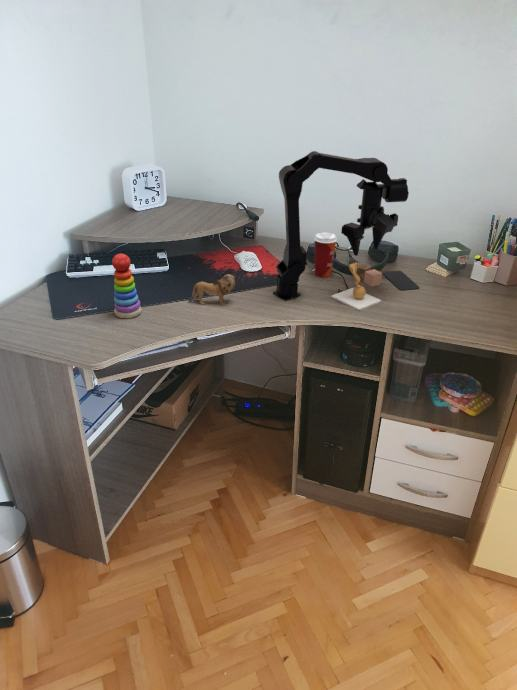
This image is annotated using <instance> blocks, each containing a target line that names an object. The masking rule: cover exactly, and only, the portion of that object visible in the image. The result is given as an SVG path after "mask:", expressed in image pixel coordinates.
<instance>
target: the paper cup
mask: <svg viewBox="0 0 517 690" xmlns="http://www.w3.org/2000/svg"><path fill="white" fill-rule="evenodd" d="M313 239H314V275H315V276H316V277H317V278H323V279H324V278H329V277H331V276H332V271H333V265H334V257H335V251H336V250H335V249H336V243H337V241H338V238H337V236H336V234H334V233H332V232H324V231H323V232H318V233H316V234H315V236H314V238H313Z"/></svg>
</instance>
